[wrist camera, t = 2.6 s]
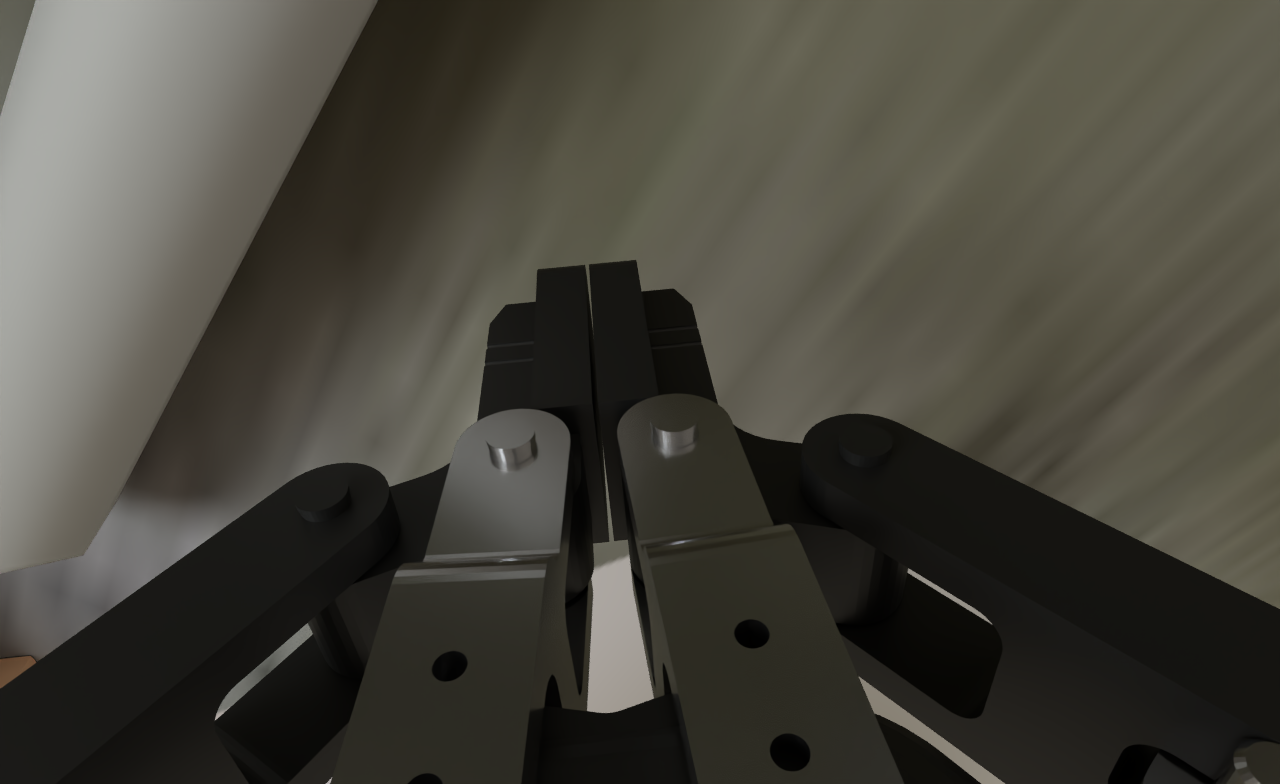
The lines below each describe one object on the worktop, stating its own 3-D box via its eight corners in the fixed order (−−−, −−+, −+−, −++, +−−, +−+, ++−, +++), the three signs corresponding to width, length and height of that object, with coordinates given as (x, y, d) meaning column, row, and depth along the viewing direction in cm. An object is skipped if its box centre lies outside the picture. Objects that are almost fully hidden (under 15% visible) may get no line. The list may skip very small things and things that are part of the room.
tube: (97, 620, 23) (644, -345, 11) (-166, 608, 19) (239, -789, 8) (113, 470, 26) (549, -393, 15) (-109, 437, 23) (234, -720, 11)
